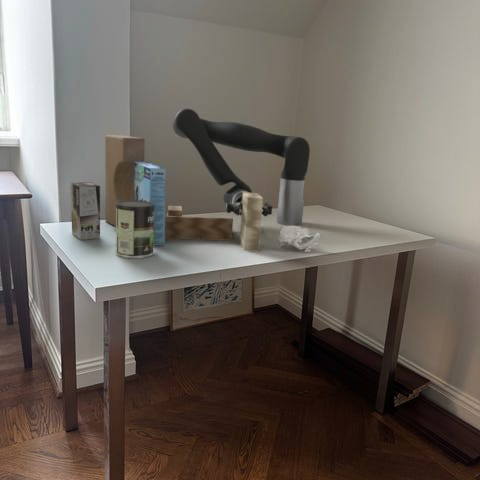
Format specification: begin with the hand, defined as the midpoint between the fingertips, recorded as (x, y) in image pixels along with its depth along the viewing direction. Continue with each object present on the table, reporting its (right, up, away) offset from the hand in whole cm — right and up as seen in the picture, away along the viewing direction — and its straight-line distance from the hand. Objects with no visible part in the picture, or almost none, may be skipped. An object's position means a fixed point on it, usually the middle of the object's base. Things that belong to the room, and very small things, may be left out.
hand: (252, 212), depth 141 cm
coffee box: (-51, -7, +3) cm, 52 cm away
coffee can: (-33, -12, -11) cm, 37 cm away
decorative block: (-44, -3, +20) cm, 48 cm away
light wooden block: (-1, -10, +5) cm, 11 cm away
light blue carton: (-33, -8, +6) cm, 34 cm away
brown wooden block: (-19, -6, +15) cm, 25 cm away
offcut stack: (-26, -6, +14) cm, 30 cm away
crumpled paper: (+14, -11, +5) cm, 19 cm away
